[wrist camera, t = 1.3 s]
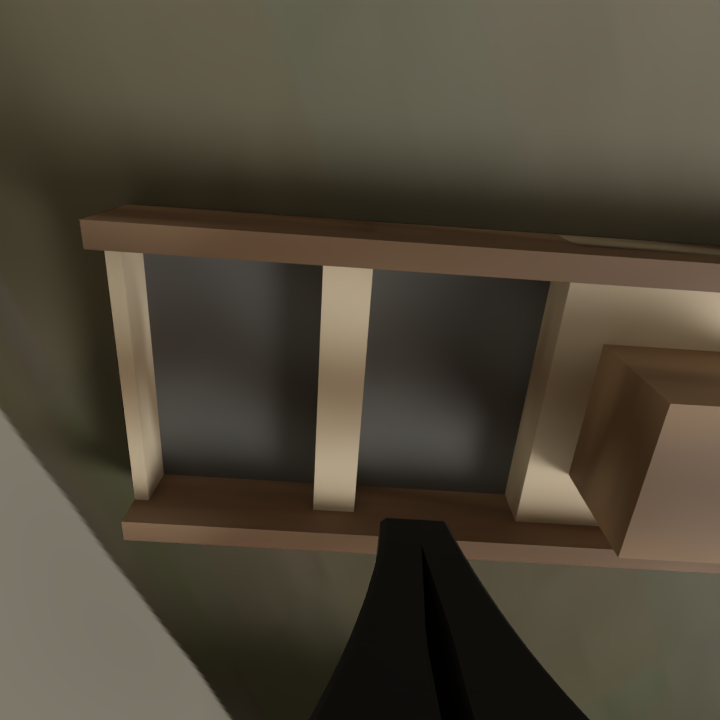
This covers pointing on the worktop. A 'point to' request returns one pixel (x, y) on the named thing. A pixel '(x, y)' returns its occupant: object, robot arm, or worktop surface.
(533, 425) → the brown wooden open box
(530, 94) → the worktop surface
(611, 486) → the walnut block
